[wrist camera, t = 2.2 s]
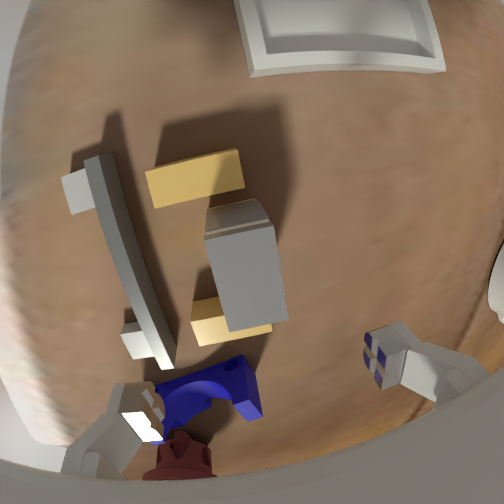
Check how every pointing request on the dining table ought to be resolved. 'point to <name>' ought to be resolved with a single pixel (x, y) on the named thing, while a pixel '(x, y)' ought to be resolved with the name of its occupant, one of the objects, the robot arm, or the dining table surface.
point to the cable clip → (209, 393)
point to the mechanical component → (181, 460)
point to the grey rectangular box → (245, 264)
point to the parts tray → (338, 36)
